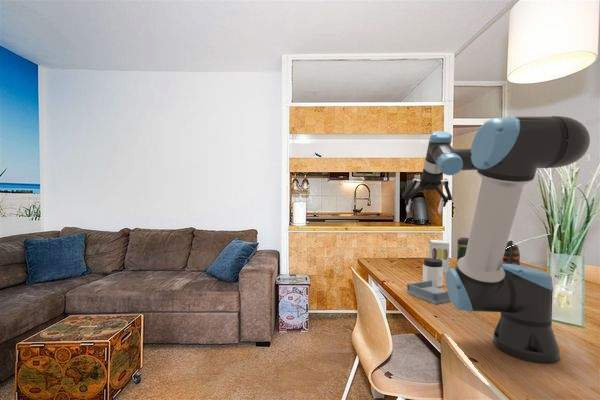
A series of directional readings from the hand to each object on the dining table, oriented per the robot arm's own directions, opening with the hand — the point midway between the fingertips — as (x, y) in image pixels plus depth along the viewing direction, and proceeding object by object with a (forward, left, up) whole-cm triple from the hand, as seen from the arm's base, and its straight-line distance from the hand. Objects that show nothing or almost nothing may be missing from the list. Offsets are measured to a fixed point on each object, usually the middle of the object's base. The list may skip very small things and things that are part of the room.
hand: (423, 211), depth 135 cm
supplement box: (+23, -37, -36) cm, 57 cm away
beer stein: (0, -61, -36) cm, 71 cm away
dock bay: (-6, +1, -36) cm, 36 cm away
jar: (+5, -12, -36) cm, 38 cm away
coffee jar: (+17, -51, -36) cm, 65 cm away
